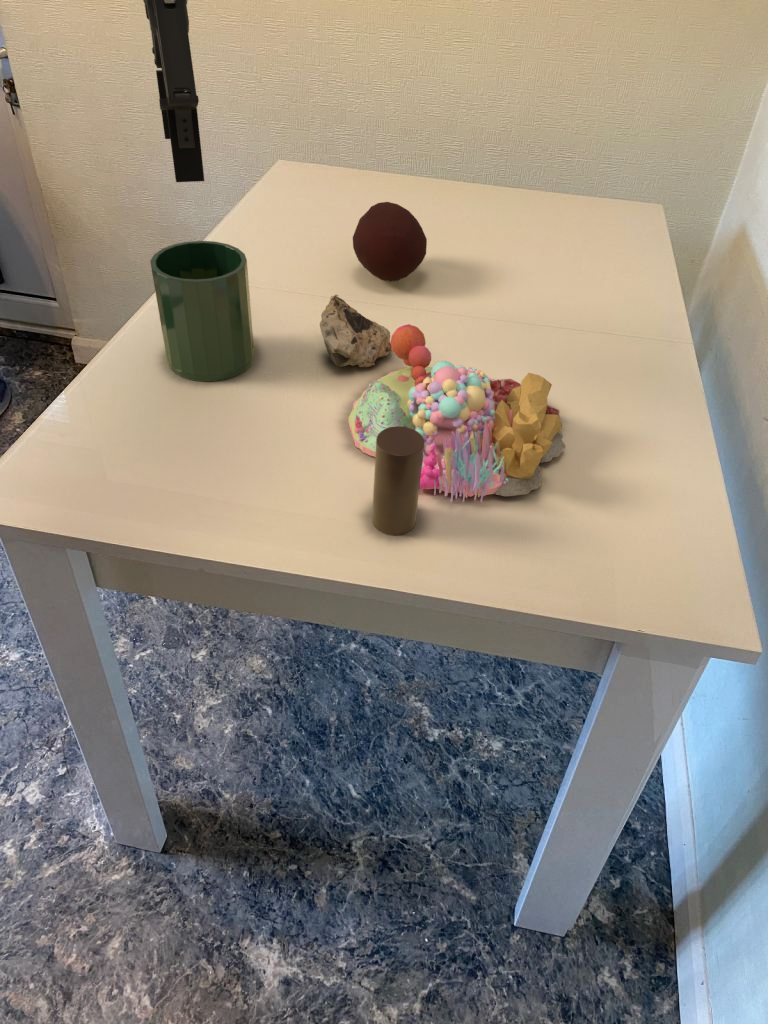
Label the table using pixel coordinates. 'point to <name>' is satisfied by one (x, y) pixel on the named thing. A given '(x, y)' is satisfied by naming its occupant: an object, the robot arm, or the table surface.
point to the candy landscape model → (462, 422)
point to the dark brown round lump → (389, 241)
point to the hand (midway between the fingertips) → (183, 158)
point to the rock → (352, 335)
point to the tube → (204, 309)
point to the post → (397, 479)
